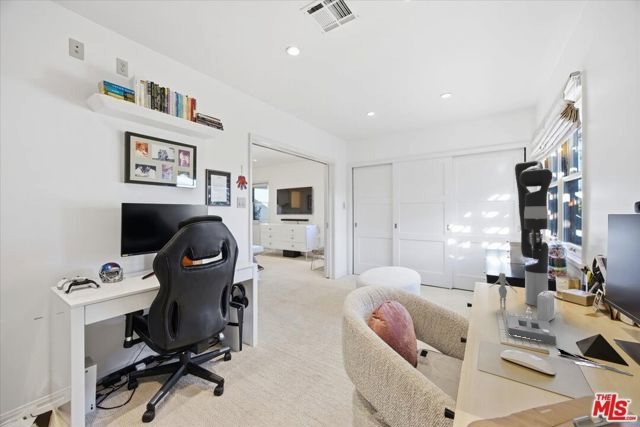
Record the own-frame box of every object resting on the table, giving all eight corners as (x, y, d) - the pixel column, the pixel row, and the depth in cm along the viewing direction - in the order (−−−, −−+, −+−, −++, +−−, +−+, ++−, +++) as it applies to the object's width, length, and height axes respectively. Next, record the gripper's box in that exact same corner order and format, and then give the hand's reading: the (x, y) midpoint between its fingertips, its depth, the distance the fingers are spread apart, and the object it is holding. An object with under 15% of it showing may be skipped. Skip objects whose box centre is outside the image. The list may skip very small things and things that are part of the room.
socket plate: (506, 321, 116) (506, 312, 116) (548, 328, 109) (548, 319, 109) (508, 335, 103) (508, 325, 103) (555, 344, 95) (555, 334, 95)
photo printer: (544, 314, 123) (543, 288, 123) (555, 317, 120) (555, 290, 120) (535, 319, 118) (535, 292, 118) (548, 323, 114) (547, 294, 114)
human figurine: (518, 310, 129) (518, 274, 129) (516, 312, 126) (516, 275, 126) (490, 304, 138) (489, 270, 138) (488, 306, 135) (487, 271, 135)
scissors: (635, 383, 74) (635, 375, 74) (539, 354, 90) (539, 347, 90) (633, 372, 79) (633, 364, 79) (543, 346, 95) (543, 340, 95)
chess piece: (518, 329, 108) (517, 305, 108) (529, 328, 109) (529, 304, 109) (528, 334, 103) (528, 309, 103) (540, 334, 104) (539, 309, 104)
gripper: (522, 217, 116) (523, 256, 116) (525, 217, 105) (526, 260, 105) (544, 217, 112) (545, 257, 112) (550, 217, 101) (551, 262, 101)
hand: (536, 259), depth 108 cm, fingers closed
